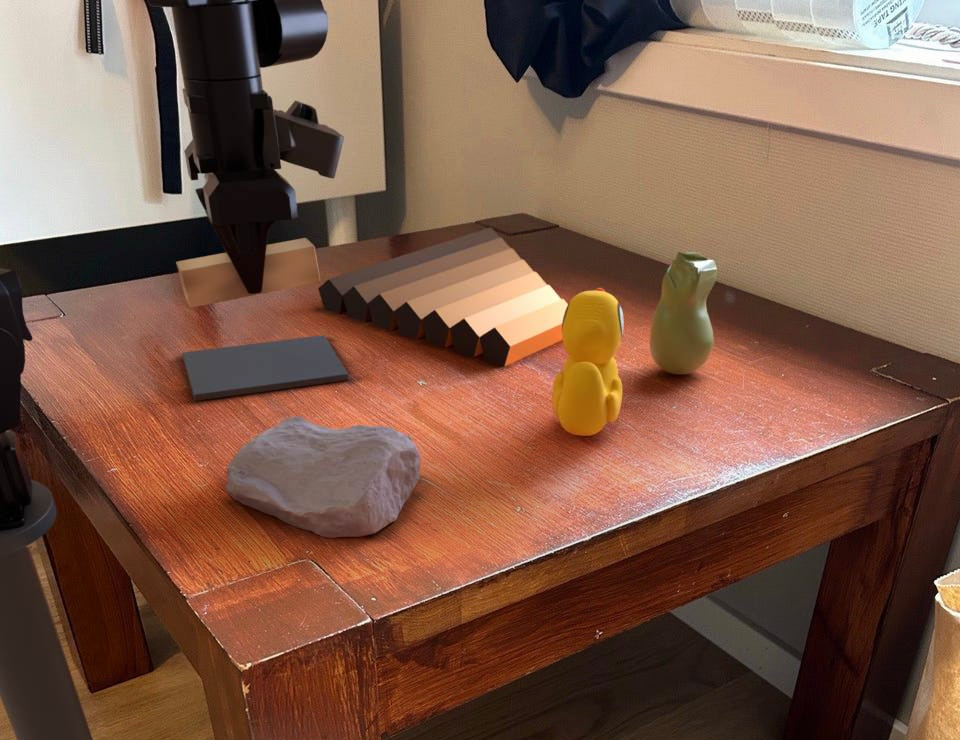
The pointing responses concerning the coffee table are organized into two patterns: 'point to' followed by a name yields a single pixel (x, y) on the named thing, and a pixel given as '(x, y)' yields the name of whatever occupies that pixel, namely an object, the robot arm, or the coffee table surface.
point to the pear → (684, 315)
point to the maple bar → (221, 281)
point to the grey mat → (262, 367)
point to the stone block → (326, 476)
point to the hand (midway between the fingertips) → (252, 287)
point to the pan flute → (456, 298)
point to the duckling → (589, 364)
